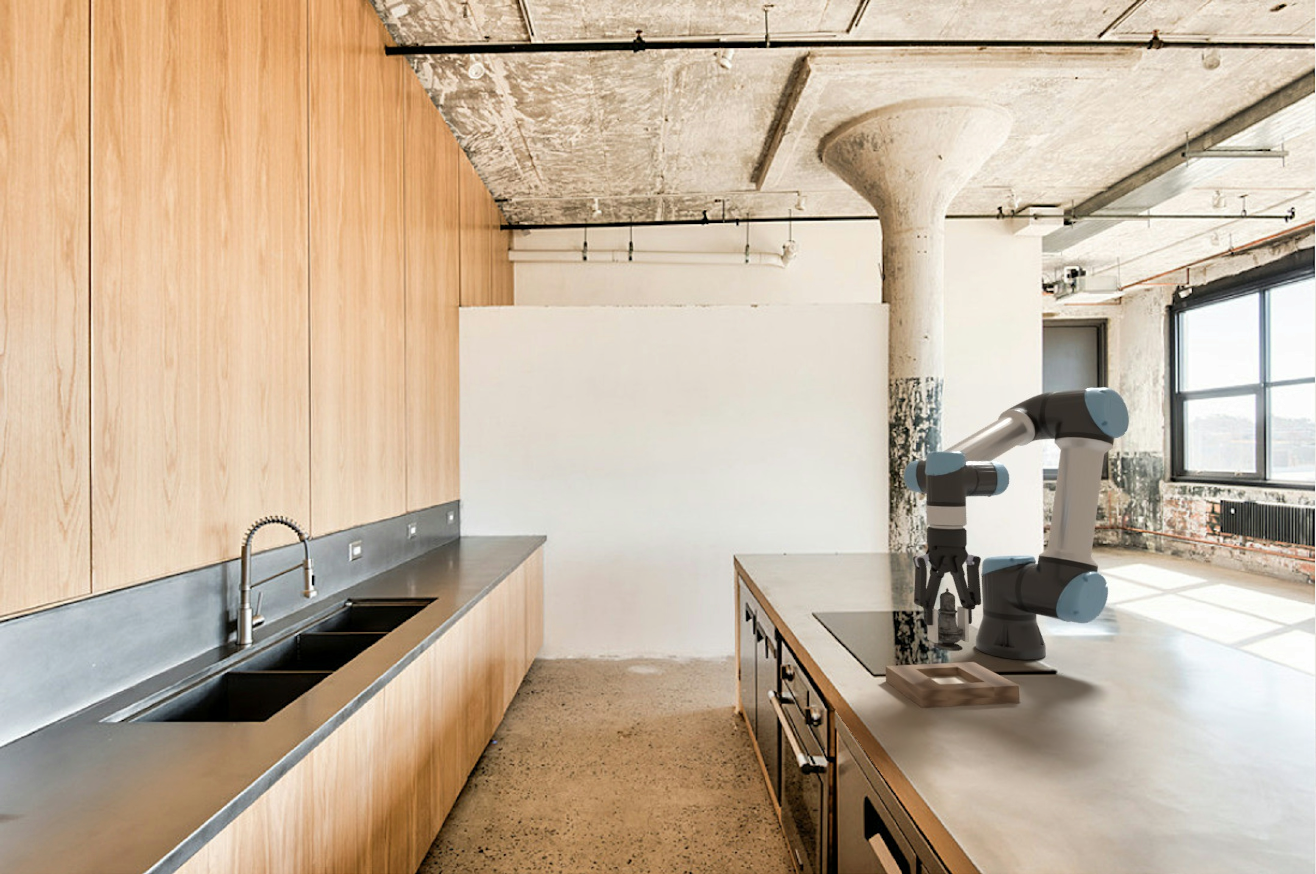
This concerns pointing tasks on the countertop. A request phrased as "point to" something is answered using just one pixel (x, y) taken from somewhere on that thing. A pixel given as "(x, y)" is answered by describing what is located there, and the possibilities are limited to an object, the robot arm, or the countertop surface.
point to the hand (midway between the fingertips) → (948, 640)
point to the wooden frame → (951, 684)
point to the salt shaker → (948, 624)
